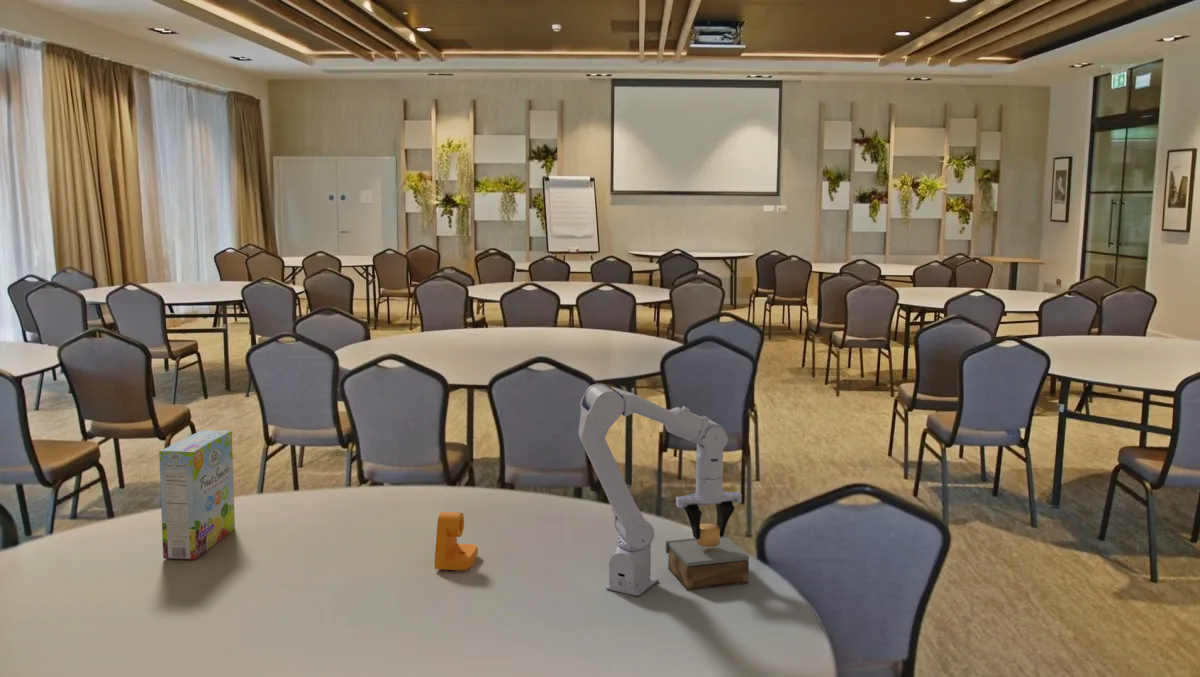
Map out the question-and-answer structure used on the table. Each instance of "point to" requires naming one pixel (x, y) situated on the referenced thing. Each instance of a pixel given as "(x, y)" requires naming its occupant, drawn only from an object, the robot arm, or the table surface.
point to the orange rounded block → (709, 535)
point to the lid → (706, 552)
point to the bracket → (452, 544)
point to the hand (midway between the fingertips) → (708, 536)
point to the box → (708, 573)
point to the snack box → (196, 493)
